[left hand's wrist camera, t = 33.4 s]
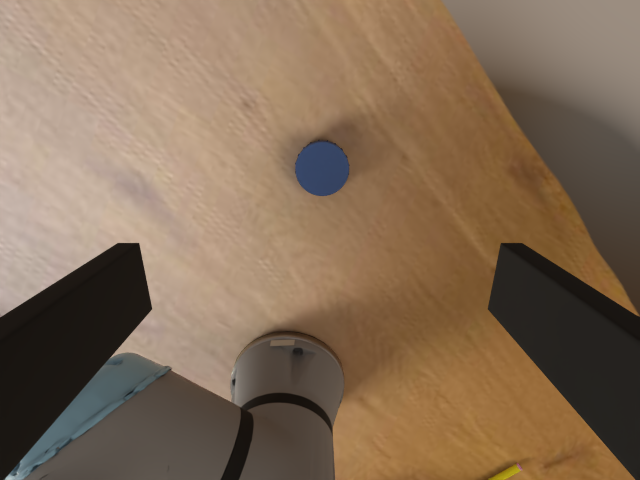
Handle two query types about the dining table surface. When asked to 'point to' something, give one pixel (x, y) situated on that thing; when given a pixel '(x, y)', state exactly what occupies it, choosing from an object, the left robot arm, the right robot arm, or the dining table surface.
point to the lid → (322, 168)
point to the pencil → (507, 472)
